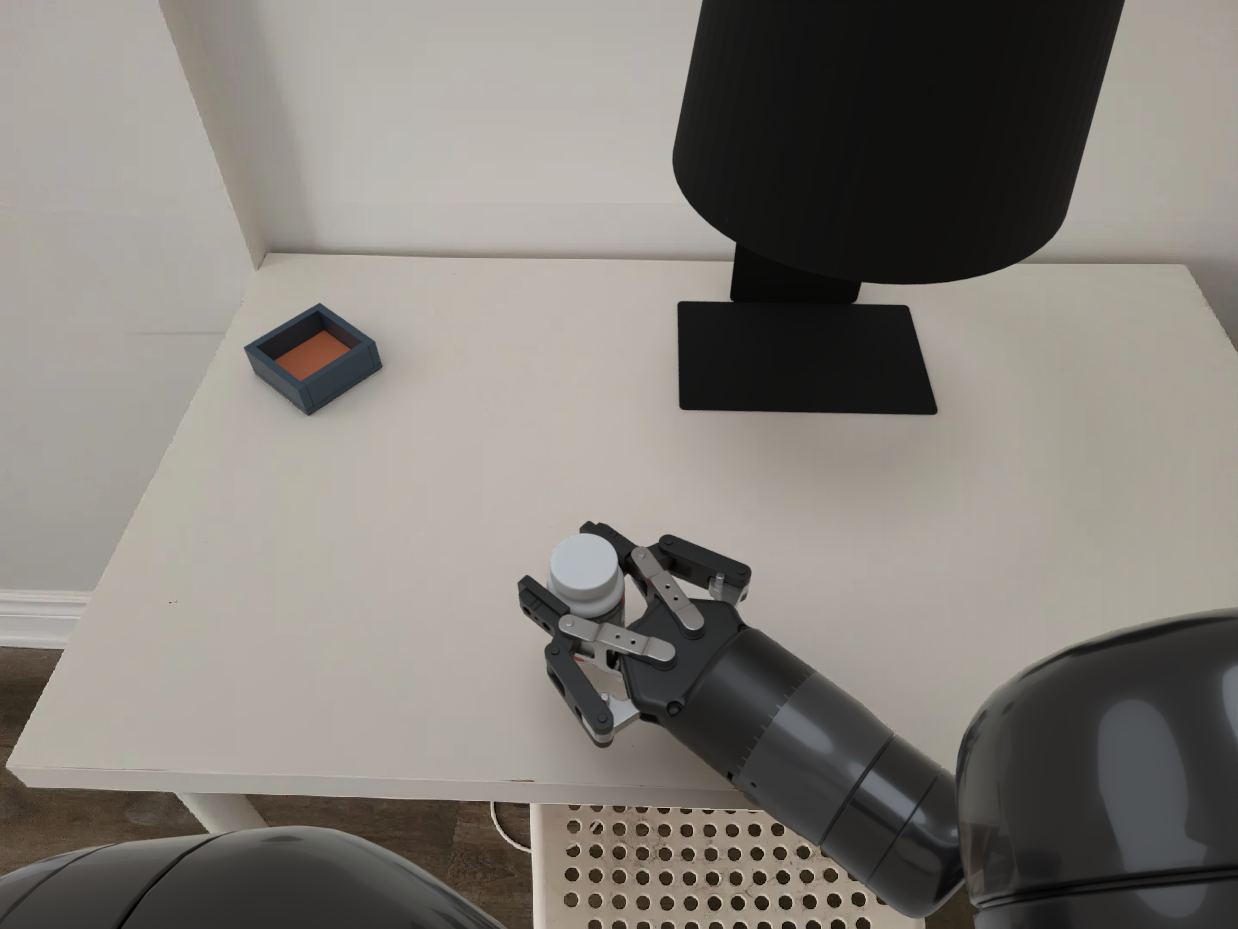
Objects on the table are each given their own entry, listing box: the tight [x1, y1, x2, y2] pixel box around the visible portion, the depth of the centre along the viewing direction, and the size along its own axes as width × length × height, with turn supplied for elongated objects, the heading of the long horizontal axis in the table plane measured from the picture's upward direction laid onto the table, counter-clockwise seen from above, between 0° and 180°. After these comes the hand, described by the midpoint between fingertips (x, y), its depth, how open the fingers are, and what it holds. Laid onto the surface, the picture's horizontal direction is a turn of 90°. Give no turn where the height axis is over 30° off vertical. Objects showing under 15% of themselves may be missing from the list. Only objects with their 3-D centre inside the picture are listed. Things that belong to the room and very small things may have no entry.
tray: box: [243, 302, 383, 416], centre depth 78 cm, size 8×8×3 cm
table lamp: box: [671, 0, 1126, 416], centre depth 61 cm, size 26×28×40 cm
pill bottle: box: [546, 533, 626, 665], centre depth 54 cm, size 5×5×8 cm
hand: (554, 559), depth 54 cm, fingers closed on pill bottle, 4 cm apart
